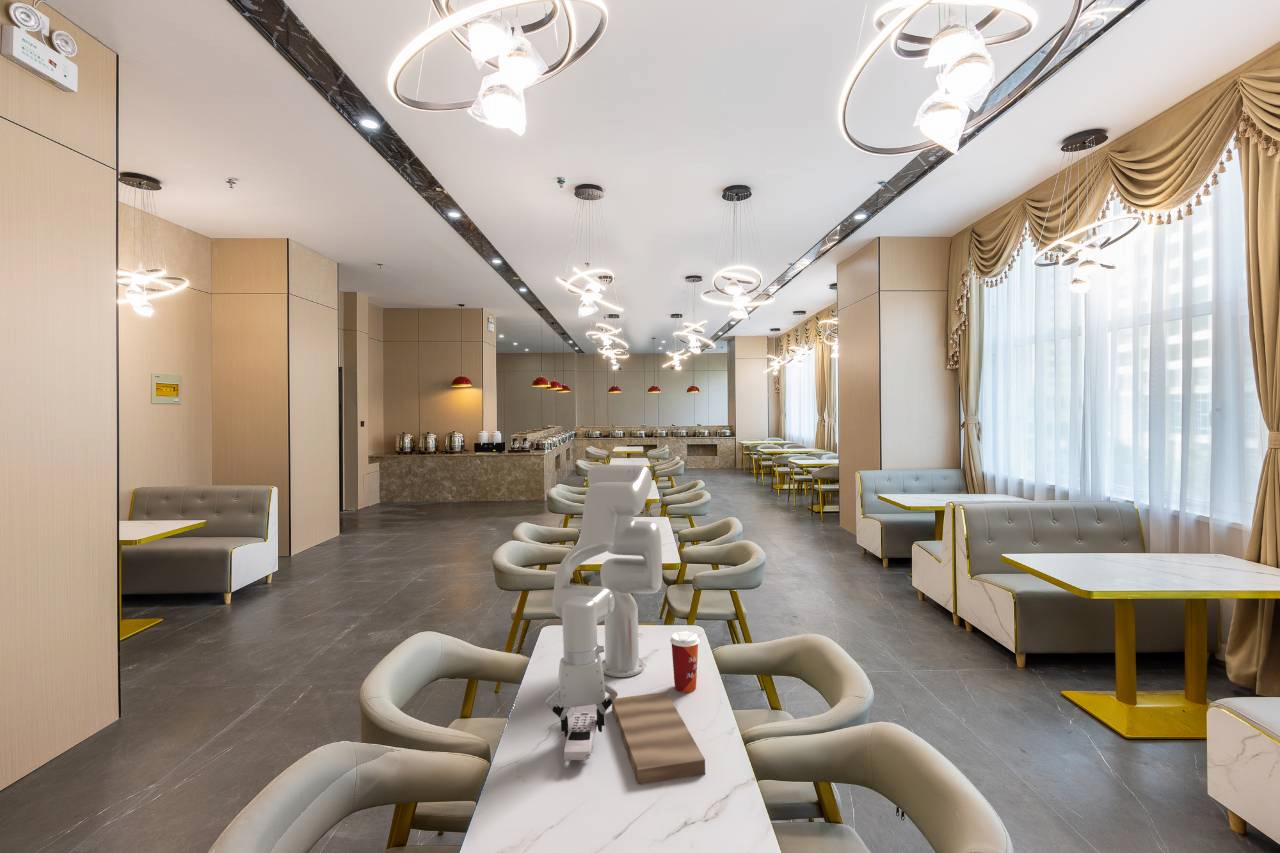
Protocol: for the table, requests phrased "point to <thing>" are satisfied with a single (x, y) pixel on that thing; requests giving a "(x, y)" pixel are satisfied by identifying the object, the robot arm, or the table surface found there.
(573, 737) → the mobile phone
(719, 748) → the table surface
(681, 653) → the paper cup
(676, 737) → the walnut stand
